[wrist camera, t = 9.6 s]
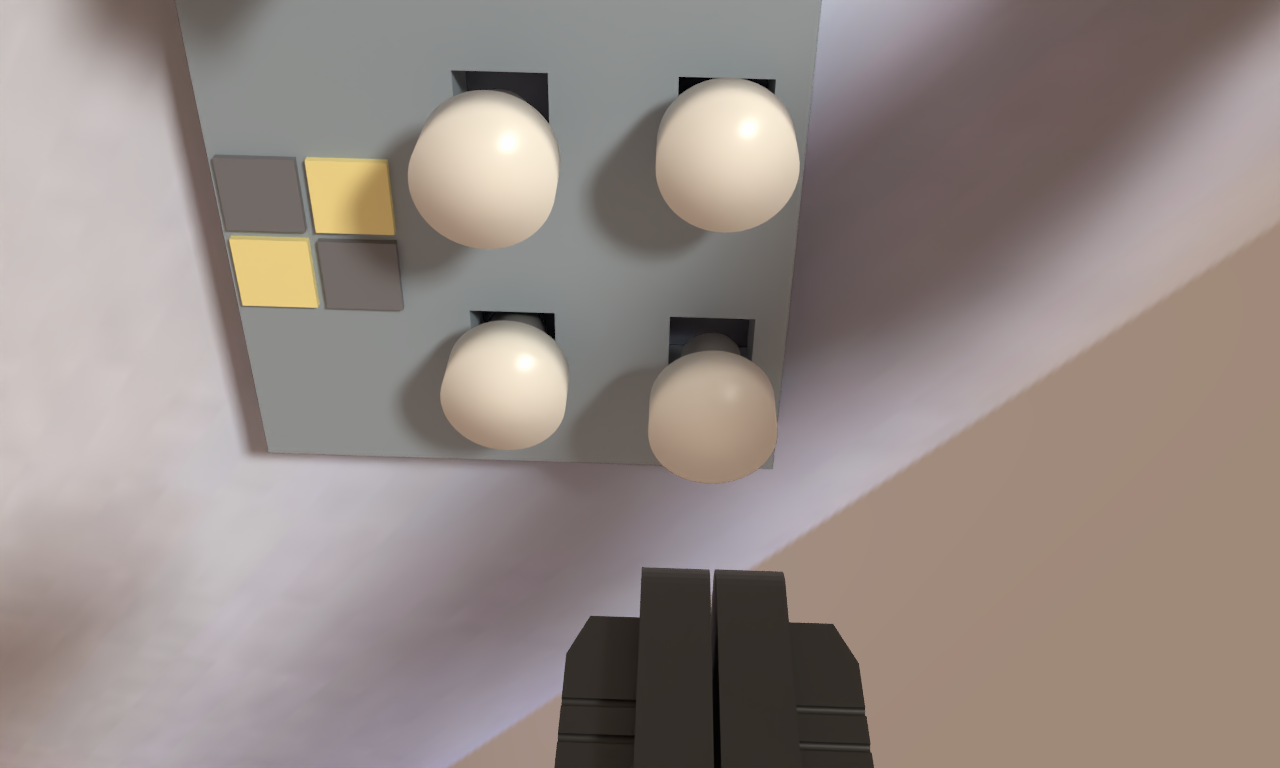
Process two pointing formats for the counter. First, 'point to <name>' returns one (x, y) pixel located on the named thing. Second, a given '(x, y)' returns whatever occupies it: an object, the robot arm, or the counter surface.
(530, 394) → the button
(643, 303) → the board
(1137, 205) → the counter surface
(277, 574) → the counter surface
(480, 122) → the button
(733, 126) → the button
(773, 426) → the button
